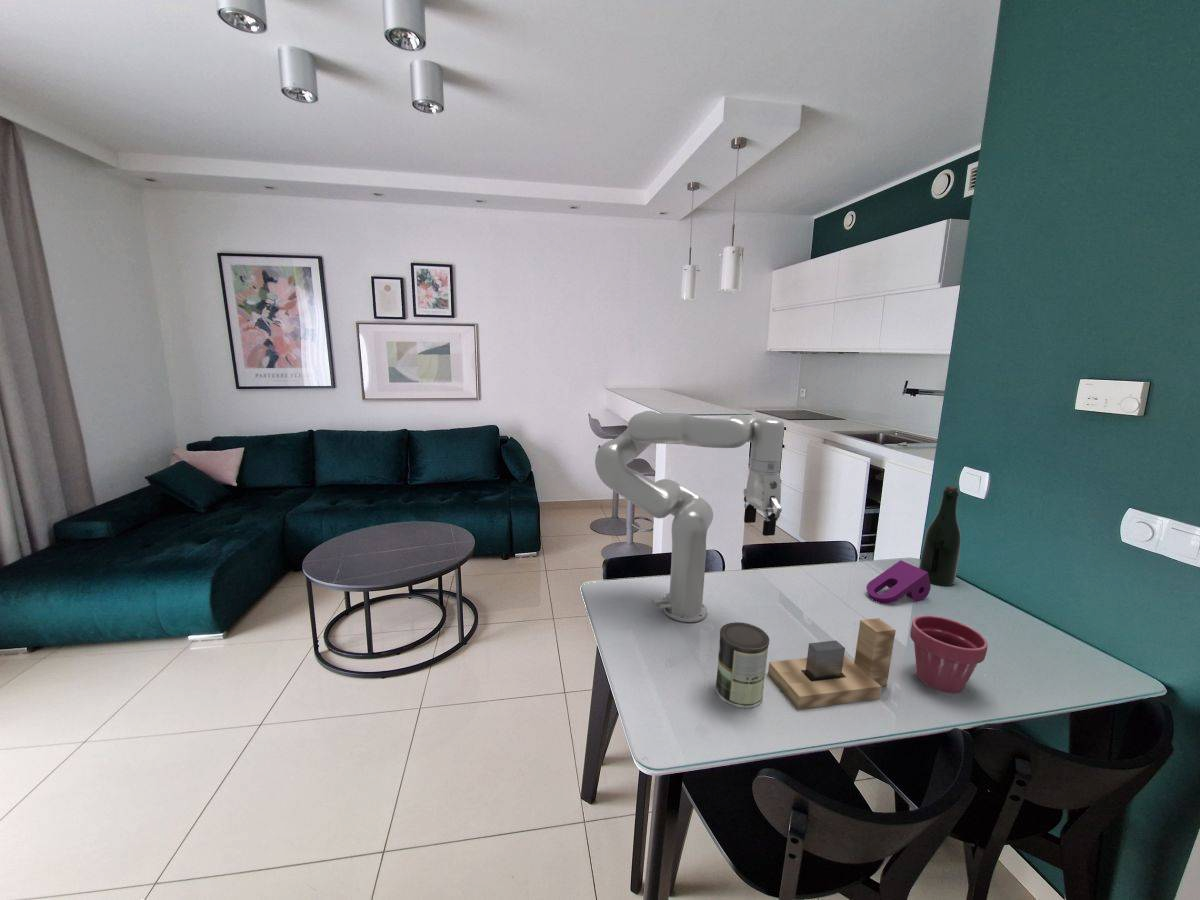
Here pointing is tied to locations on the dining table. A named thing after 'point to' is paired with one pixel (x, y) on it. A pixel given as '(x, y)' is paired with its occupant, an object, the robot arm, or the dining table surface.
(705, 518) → the robot arm
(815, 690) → the wooden slotted base
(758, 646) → the coffee can
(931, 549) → the beer bottle
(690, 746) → the dining table surface
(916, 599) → the mounting bracket
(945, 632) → the plant pot
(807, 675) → the tall grey upright slab
